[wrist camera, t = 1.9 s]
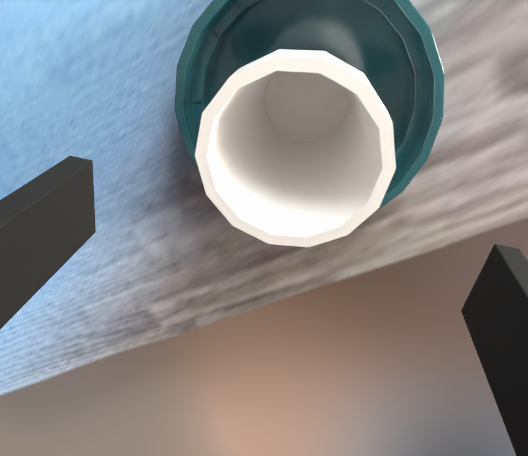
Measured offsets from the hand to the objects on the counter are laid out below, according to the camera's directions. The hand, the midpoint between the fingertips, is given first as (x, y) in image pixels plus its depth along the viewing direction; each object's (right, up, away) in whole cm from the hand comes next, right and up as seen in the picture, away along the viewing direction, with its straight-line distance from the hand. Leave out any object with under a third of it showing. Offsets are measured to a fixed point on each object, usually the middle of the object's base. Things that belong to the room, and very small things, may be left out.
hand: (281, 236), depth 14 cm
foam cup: (+3, +10, +18) cm, 20 cm away
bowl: (+3, +10, +18) cm, 21 cm away
